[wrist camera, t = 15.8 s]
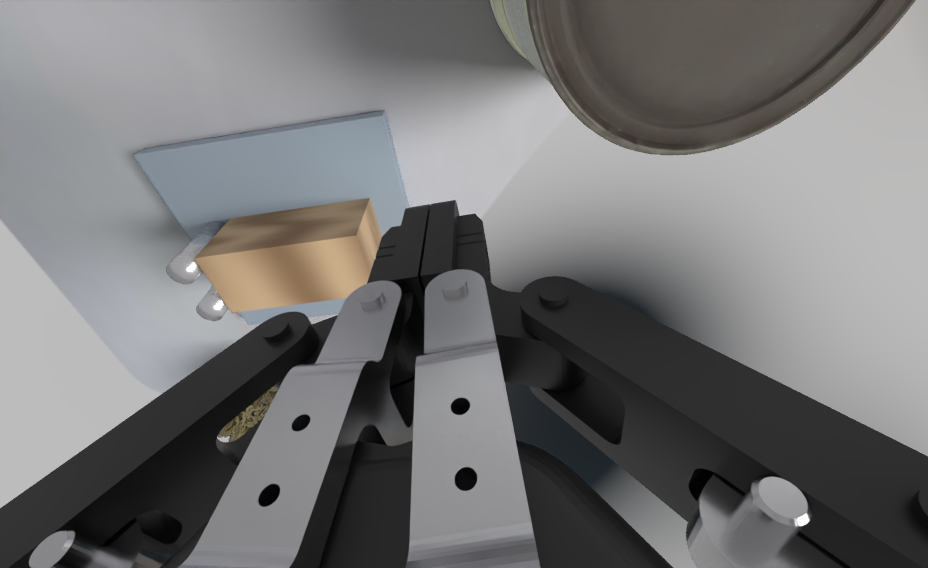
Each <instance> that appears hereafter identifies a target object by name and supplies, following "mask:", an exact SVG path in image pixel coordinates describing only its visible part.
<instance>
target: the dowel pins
mask: <svg viewBox="0 0 928 568" xmlns="http://www.w3.org/2000/svg"><path fill="white" fill-rule="evenodd" d="M224 225H225V223H223V222H221V221H212V222H211V223H209V224H208V225H207V226H206V227H205V228H204V230H203V231H202V232H201V233H200V234H199V235H198V236H197V237H196V238H195V239H194V240H193V241H192V242H191V243H190V244H189V245H188V246H187V247H186V248H185V249H184V250H183V251H182V252H181V253H180V254H179V255H178V256H177V257H176V258H175V259H174V260H173V261H172V262H171V263H170V264H169V265H168V266H167V267H166V272H167V274H168V275H169V277H170V278H172V279H173V280H174V281H176V282H179V283H182V284H190V283H193V282H194V281H195V280H196V278H197V277H198V276H199V275H200V274H201V272H202V271H203V270H202V269H201V268H200V266H199V265H198V263H197V262H196V260H195V259H194V258H195V257H196V256H197V254H198V253H199V252H200V251H201V250H202V249H203V248H204V247H205V246H206V245H207V244H208V243H209V241H210V240H211V239H212V238H213V237H214V236H215V235H216V234H217V233H218V232H219V231H220V230H221V228H222V227H223V226H224ZM227 309H228V306H227V305H226V303H225V302H224V301H223V299H222V298H221V296H220V295H219V293H218V292H217V291H216V289H215V288H214V286H212V287H211V289H210V290H209V291H208V292H207V294H206V295H205V296H204V298H203V299H202V300H201V301H200V303H199V304H198V305H197V307H196V311H197V313H198V314H199V315H200V316H201V317H203V318H204V319H207V320H210V321H217V320H220V319H221V318H222V317H223V315H224V314H225V312H226V311H227Z"/></svg>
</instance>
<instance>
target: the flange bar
mask: <svg viewBox="0 0 928 568" xmlns="http://www.w3.org/2000/svg"><path fill="white" fill-rule="evenodd" d="M381 238H382V235H381V232H380V229H379V226H378V223H377V219H376V216H375V213H374V210H373V207H372V203H371V200H370V198H367V199H360V200H353V201H346V202H339V203H332V204H325V205H318V206H311V207H305V208H298V209H291V210H284V211H277V212H270V213H263V214H256V215H249V216H243V217H236V218H231V219H230V220H229V221H228V222H227V223H226V224H225V225H224V226H223V227H222V228H221V230H220V231H219V232H218V233H217V234H216V235H215V236H214V237H213V238H212V239H211V240H210V241H209V243H208V244H207V245H206V246H205V247H204V248H203V249H202V250H201V251H200V252H199V253H198V254H197V256H196V257H195V258H194V259H195V260H196V262H197V263H198V265H199V266H200V268H201V269H202V270H203V272H204V273H205V275H206V276H207V278H208V279H209V280H210V282H211V283H212V285H213V286H214V288H215V289H216V291H217V292H218V293H219V295H220V296H221V298H222V299H223V301H224V302H225V303H226V305H227V306H228V308H229V309H230V311H231V312H232V313H236V312H243V311H251V310H259V309H266V308H274V307H282V306H290V305H297V304H305V303H313V302H320V301H328V300H336V299H343V298H347V297H348V296H349V295H350V294H351V293H352V292H353V291H354V290H356V289H357V288H359V287H361V286H363V285H365V284H367V282H368V279H369V276H370V272H371V269H372V266H373V263H374V260H375V259H376V253H377V250H379V249H378V247H379V244H380V241H381Z"/></svg>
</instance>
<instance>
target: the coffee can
mask: <svg viewBox="0 0 928 568" xmlns="http://www.w3.org/2000/svg"><path fill="white" fill-rule="evenodd" d="M914 2H915V0H490V3H491V7H492V10H493V13H494V16H495V18H496V21H497V23H498V25H499V27H500V29H501V31H502V33H503V34H504V36H505V38H506V39H507V40H508V42H509V43H510V45H511V46H512V47H513V48H514V49H515V50H516V51H517V52H518V53H519V54H520V55H521V56H522V57H524V58H525V59H526V60H528V61H529V62H530V63H531V64H532V65H533V66H534V67H535V68H536V69H537V70H538V71H539V72H540V73H541V74H542V75H543V76H544V77H545V78H546V79H547V80H548V81H549V82H550V84H551V85H552V86H553V87H554V89H555V90H556V92H557V93H558V95H559V96H560V98H561V99H562V100H563V102H564V103H565V104H566V106H567V107H568V108H569V110H570V111H571V112H572V113H573V114H575V116H576V117H577V118H578V119H579V120H580V121H581V122H582V123H583V124H584V125H586V126H587V127H588V128H590V129H591V130H593V131H594V132H596V133H597V134H598V135H600V136H601V137H603V138H605V139H606V140H608V141H610V142H612V143H614V144H616V145H619V146H621V147H624V148H627V149H631V150H634V151H638V152H643V153H648V154H660V155H688V154H695V153H701V152H706V151H711V150H715V149H718V148H722V147H726V146H729V145H732V144H735V143H737V142H740V141H743V140H745V139H747V138H750V137H752V136H755V135H757V134H759V133H761V132H763V131H765V130H767V129H769V128H771V127H773V126H775V125H777V124H779V123H781V122H782V121H784V120H785V119H787V118H789V117H790V116H791V115H793V114H795V113H797V112H798V111H800V110H801V109H802V108H804V107H806V106H807V105H808V104H810V103H811V102H813V101H814V100H815V99H817V98H818V97H819V96H821V95H822V94H824V93H825V92H826V91H828V90H829V89H830V88H831V87H832V86H833V85H835V84H836V83H837V82H838V81H839V80H841V79H842V78H843V77H844V76H845V75H846V74H847V73H848V72H849V71H850V70H852V69H853V68H854V67H855V66H856V65H857V64H858V63H860V62H861V61H862V60H863V59H864V58H865V57H866V56H867V55H868V54H869V53H870V52H871V50H873V49H874V48H875V47H876V46H877V45H878V44H879V43H880V41H881V40H883V39H884V37H885V36H886V35H887V34H888V33H889V32H890V31H891V30H892V29H893V27H894V26H895V25H896V24H897V23H898V21H900V19H901V18H902V17H903V15H905V13H906V12H907V11H908V9H909V8H910V7H911V6H912V4H913V3H914Z"/></svg>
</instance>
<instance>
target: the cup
mask: <svg viewBox="0 0 928 568" xmlns="http://www.w3.org/2000/svg"><path fill="white" fill-rule="evenodd" d="M277 392H278V389H277V388H276V387H275V385H274V386H273V387H272V388H271V389H269V390H268V391H267V392H266V393H265V394H263V395H262V396H261V397H260V398H259V399H257V400H256V401H255V402H254V403H252V404H251V405H250V406H249V407H248V408H246V409H245V410H244V411H243V412H241V413H240V414H239V415H238V416H237V417H235V418H234V419H233V420H232V421H231V422H229V423H228V424H227V425H226V426H225V427H224V428H223V429H222V430H221V431H220V433H219V434H218V437H220V438H222V437H227V436H230V438H229V442H232V441H235V440H237V439H238V438H240V437H241V436H242V435H244V434H245V433H246V432H247V431H248V430H249V429H251V428H252V427H253V426H254V425H255V424H256V423H258V422H259V421H260V420H261V419H262V418H263V417H264V416H265V414H266V412H267V411H268V409H269V407H270V405H271V403H272V401H273V399H274V397H275V395H276V393H277Z"/></svg>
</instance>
